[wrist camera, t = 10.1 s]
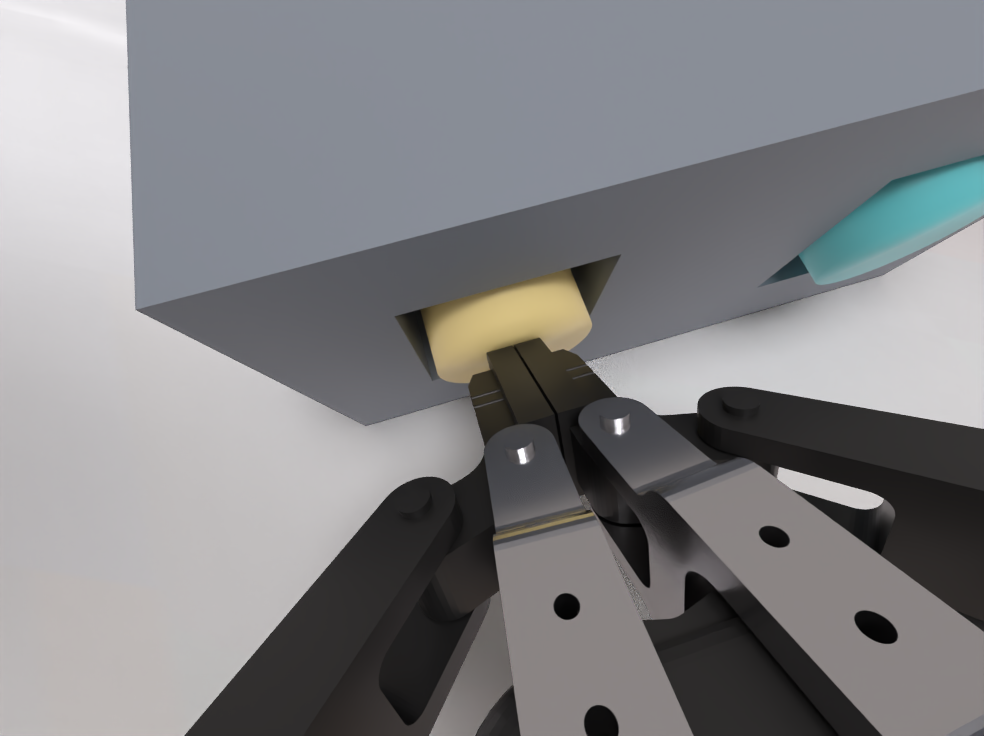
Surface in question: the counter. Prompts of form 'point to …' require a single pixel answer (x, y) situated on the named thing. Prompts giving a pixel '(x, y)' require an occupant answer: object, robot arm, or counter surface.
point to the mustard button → (505, 323)
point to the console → (514, 164)
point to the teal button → (899, 221)
